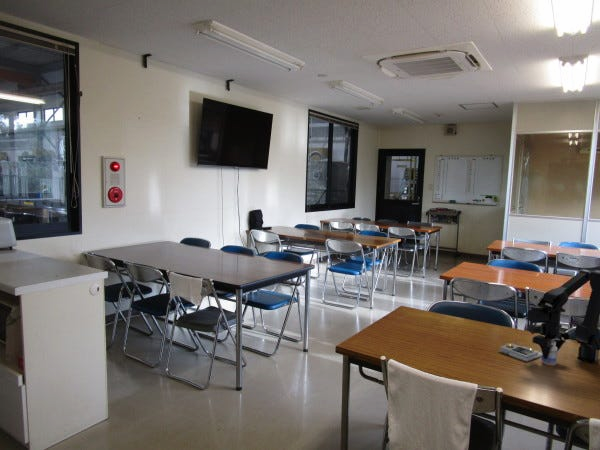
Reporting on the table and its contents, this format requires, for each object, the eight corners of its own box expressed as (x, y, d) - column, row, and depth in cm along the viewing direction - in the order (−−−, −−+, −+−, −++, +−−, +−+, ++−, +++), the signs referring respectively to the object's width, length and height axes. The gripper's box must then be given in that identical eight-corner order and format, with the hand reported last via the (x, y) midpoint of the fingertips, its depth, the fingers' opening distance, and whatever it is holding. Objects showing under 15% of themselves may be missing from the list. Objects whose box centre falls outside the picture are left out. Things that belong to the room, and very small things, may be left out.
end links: (542, 355, 188) (543, 348, 188) (526, 361, 181) (527, 354, 181) (516, 346, 199) (516, 339, 198) (499, 351, 192) (500, 345, 191)
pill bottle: (543, 359, 184) (544, 337, 183) (557, 362, 181) (559, 340, 180) (540, 363, 180) (542, 341, 179) (555, 366, 177) (556, 344, 176)
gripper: (544, 313, 191) (542, 346, 192) (521, 319, 181) (518, 354, 182) (571, 320, 181) (568, 355, 183) (547, 327, 171) (545, 364, 173)
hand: (549, 357), depth 180 cm, fingers open, 6 cm apart
